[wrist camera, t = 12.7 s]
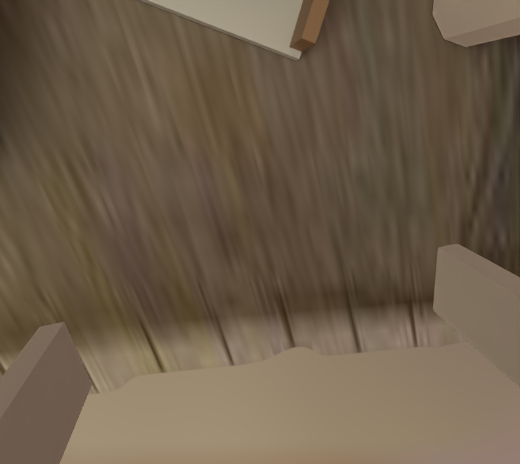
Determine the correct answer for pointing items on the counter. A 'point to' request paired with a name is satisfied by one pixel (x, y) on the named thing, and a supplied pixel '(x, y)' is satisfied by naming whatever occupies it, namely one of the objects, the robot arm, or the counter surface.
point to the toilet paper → (477, 20)
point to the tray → (257, 20)
